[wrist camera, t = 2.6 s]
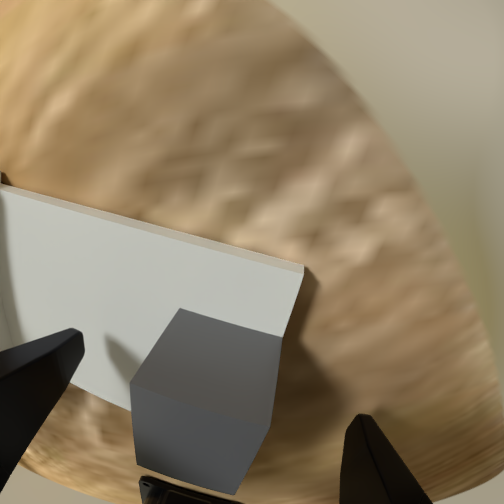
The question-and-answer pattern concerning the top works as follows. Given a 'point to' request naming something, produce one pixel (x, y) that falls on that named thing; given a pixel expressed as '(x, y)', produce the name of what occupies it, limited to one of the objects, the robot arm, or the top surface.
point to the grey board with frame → (153, 327)
